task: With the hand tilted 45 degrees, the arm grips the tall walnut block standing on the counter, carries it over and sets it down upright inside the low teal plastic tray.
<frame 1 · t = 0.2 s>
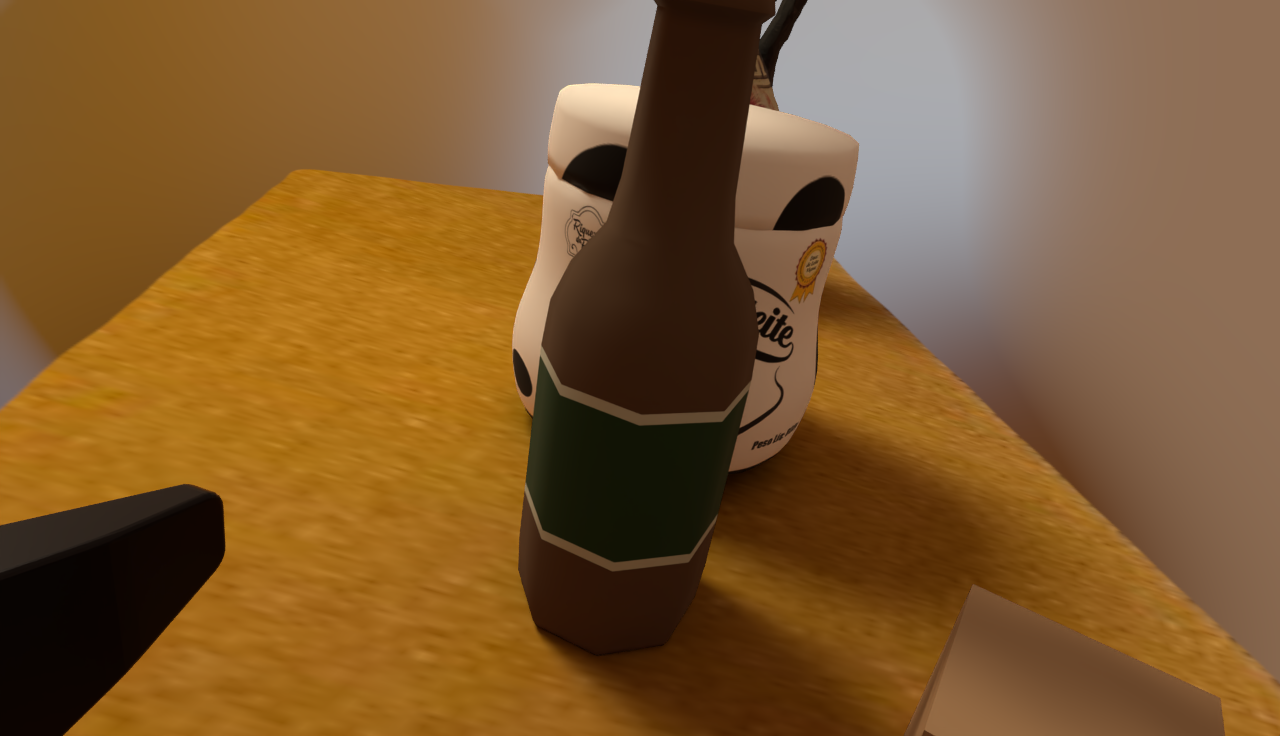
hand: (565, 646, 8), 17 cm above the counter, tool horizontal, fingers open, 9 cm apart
beer bottle: (604, 594, 33), on the counter
ceramic jug: (691, 269, 74), on the counter
milk container: (650, 423, 46), on the counter
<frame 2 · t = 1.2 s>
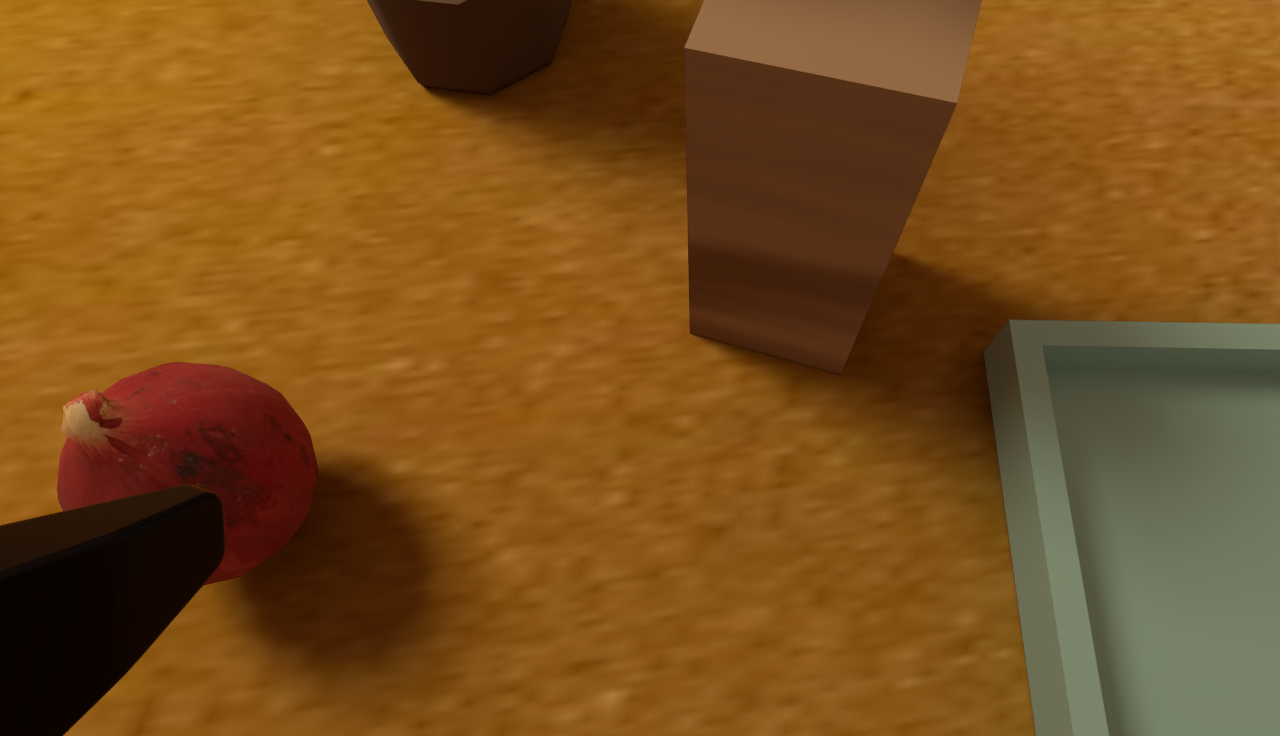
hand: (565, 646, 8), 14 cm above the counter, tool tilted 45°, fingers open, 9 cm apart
teal tray: (1271, 581, 21), on the counter
beer bottle: (483, 33, 32), on the counter
onion: (271, 508, 24), on the counter
walnut block: (783, 288, 26), on the counter
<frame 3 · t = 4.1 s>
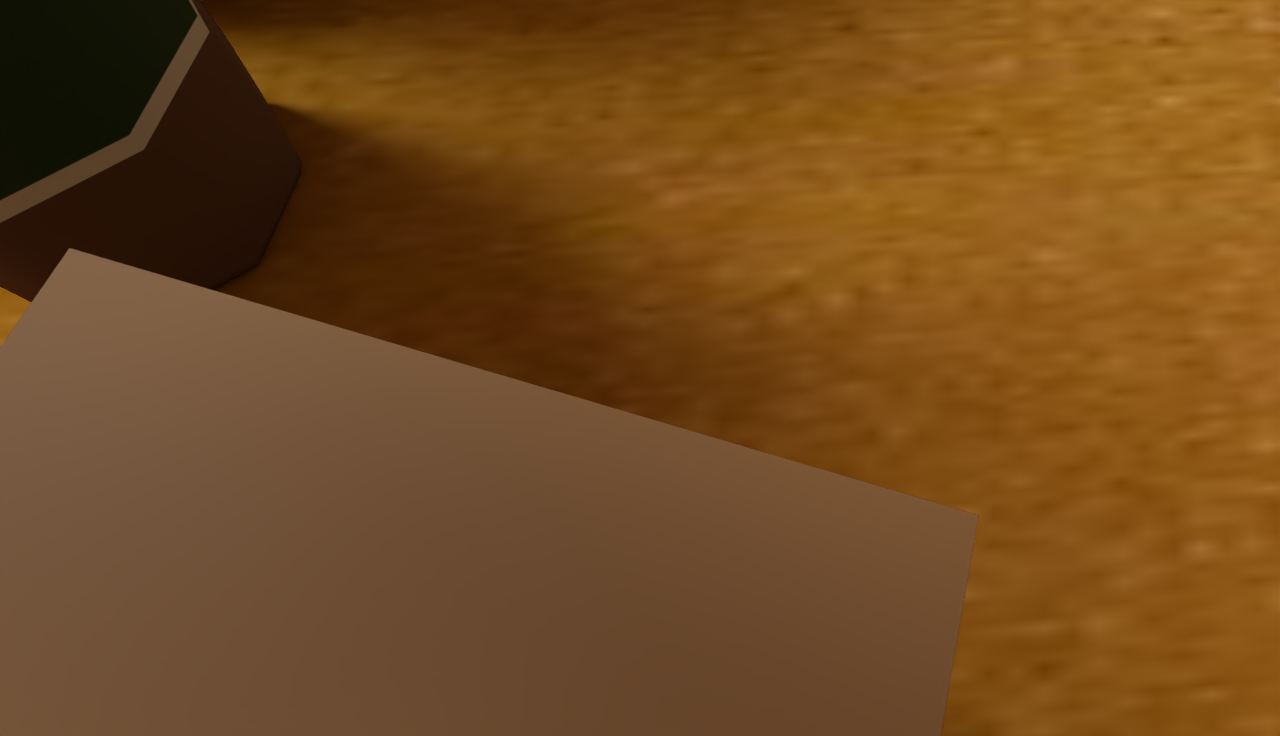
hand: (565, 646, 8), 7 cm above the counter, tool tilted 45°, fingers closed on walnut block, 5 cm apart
beer bottle: (167, 204, 20), on the counter
when the fingers open (8 cm above the counter, at t = 7.7 s): walnut block drops 1 cm, resting on teal tray.
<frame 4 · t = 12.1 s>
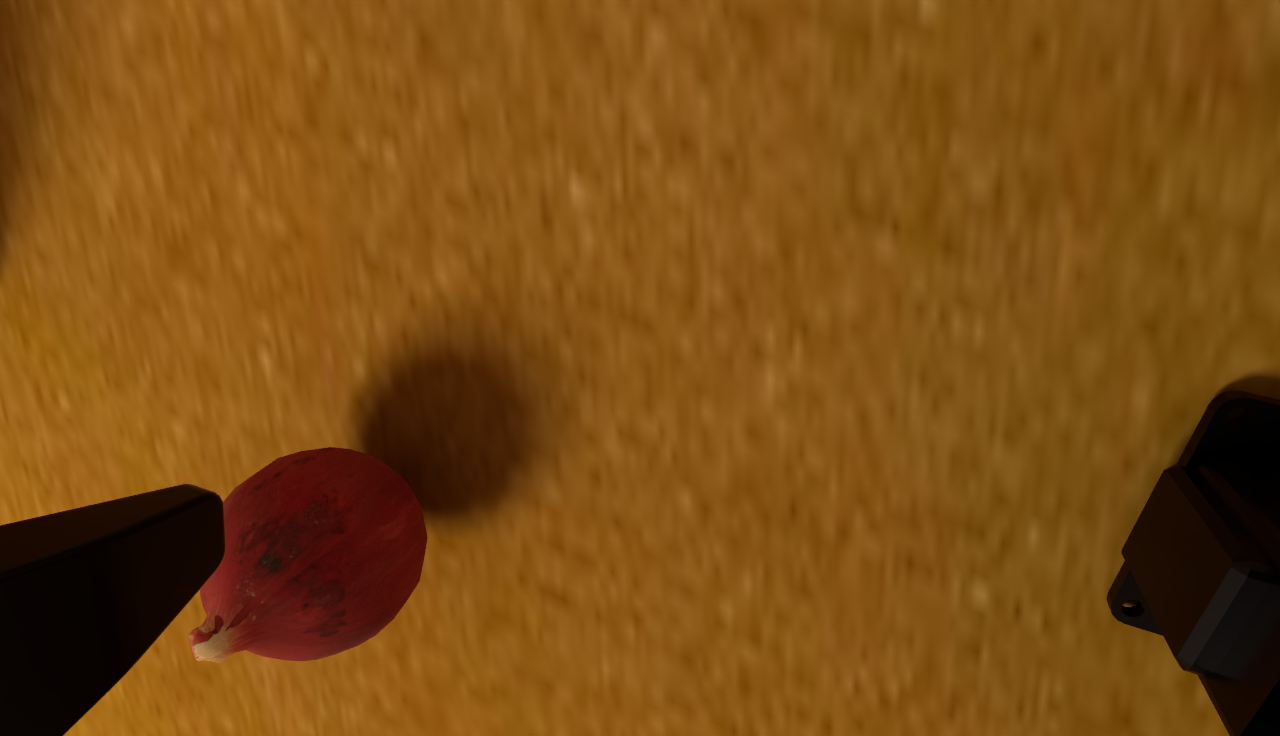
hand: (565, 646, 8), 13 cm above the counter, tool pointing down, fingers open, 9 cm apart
onion: (396, 484, 26), on the counter
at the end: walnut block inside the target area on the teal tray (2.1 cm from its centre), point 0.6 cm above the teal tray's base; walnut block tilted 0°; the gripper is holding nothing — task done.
